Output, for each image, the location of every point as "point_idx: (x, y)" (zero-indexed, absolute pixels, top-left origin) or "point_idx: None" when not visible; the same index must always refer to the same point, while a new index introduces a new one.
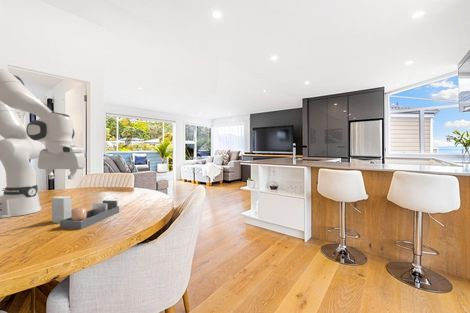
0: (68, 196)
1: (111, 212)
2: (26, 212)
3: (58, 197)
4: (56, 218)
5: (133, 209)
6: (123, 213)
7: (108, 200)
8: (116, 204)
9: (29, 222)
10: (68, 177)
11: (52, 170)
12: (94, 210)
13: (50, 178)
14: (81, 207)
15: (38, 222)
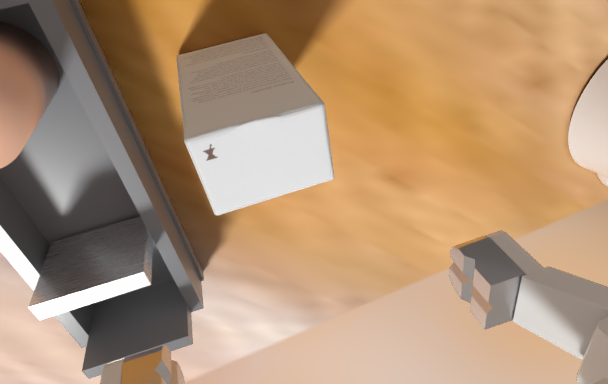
0: (240, 205)
1: None
2: (596, 92)
3: (278, 141)
4: (236, 52)
5: None
6: None
7: None
8: (88, 351)
9: (446, 5)
10: (150, 373)
11: (587, 380)
12: (132, 241)
13: (478, 241)
14: (6, 160)
15: (392, 26)
